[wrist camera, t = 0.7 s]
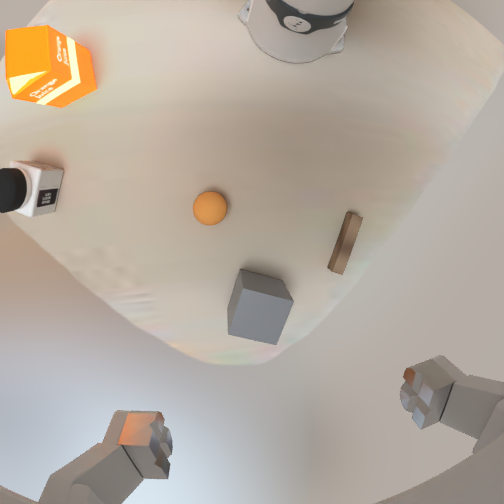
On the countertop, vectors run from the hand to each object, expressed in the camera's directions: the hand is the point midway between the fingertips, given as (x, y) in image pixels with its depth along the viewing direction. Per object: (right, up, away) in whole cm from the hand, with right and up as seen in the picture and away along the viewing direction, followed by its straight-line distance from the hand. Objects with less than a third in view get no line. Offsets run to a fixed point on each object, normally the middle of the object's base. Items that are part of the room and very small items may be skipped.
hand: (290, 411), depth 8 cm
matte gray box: (-1, -2, +41) cm, 41 cm away
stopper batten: (+14, +7, +40) cm, 43 cm away
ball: (-7, +11, +35) cm, 37 cm away
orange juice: (-32, +36, +29) cm, 56 cm away
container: (-38, +17, +33) cm, 53 cm away
